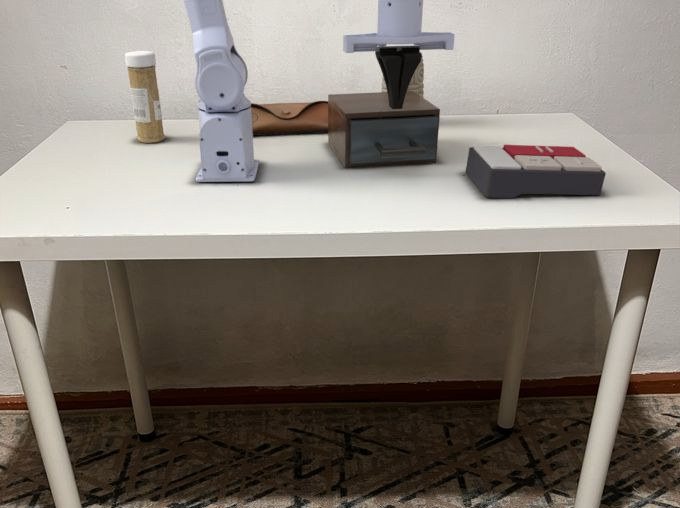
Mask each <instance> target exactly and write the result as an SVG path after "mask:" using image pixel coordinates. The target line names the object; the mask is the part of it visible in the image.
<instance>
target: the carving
mask: <svg viewBox="0 0 680 508" xmlns="http://www.w3.org/2000/svg"><path fill="white" fill-rule="evenodd" d="M420 53H422V52H421V51H420ZM423 58H424V57H423V55H422V58H421V62H420V64H419V65H418V67H417V69H416V71H415V72H414V74H413V77H412V79H411V81H410V84H409V86H408V89H407V91H414V92H415V93H417V94H418V95H420V96H421V97H423V98H424V97H425V96H424V94H425V92H424V91H425V90H424V87H425V84H424V79H425V78H424V77H425V64H424V59H423ZM381 92H387V88H386V84H385V80H384V77H383V76H382V79H381ZM424 99H425V98H424Z"/></svg>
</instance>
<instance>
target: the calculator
mask: <svg viewBox="0 0 680 508" xmlns="http://www.w3.org/2000/svg"><path fill="white" fill-rule="evenodd" d="M502 146H503V147H501V146H499V145H476V144H475V145H473V146H470V147H469V148H468V153H467V161H466V166H465V167H466V168H465V174H466V175H467V177H468V178H470V180H471V181H472V183H473V184H474V185H475V186H476V187H477V188H478V190H479V191H480V192H481V193H482V194H483V196H484V197H486V198H493V199H494V198H499V199H501V198H502V199H515V198H517V197H519V196H520V195H523V194H524V195H527V194H528V195H529V194H530V195H564V196H565V195H568V196H570V195H571V196H572V195H573V196H600V195H601V194H602V191H603V190H602V189H603V186H604V183H605V178H606V174H607V173H606V171H604V169H602V168H603V167H602V165H600V164H599V163H597V162H596V161H594V160H593V159H591V158H590V157H587V155H586V154H584V153H583V152H582V151H580V150H579V149H577V147H574V146H559V145H558V146H557V145H526V144H525V145H523V144H503V145H502Z"/></svg>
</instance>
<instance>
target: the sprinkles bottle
mask: <svg viewBox="0 0 680 508" xmlns="http://www.w3.org/2000/svg"><path fill="white" fill-rule="evenodd" d="M124 59H125V60H124V61H125V66H126V70H127V72H128V79H129V90H130V96H131V98H130V99H131V105H132V110H133V117H134V121H135V127H136V133H137V136H136V140H137V141H138V142H139V143H143V144H153V143H160V142H162V141H164V140H165V138H166V136H165V132H164V125H163V114H162V108H161V100H160V92H159V91H160V90H159V87H158V80H157V79H158V78H157V72H156V67H157V66H156V65H157V62H156V61H157V60H156V54H155V52H154V51H151V50H133V51H129V52H126V53H125V54H124Z"/></svg>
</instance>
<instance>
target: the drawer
mask: <svg viewBox="0 0 680 508" xmlns="http://www.w3.org/2000/svg"><path fill="white" fill-rule="evenodd" d="M437 126H438V117H436V116H428V115H425V116H404V117H384V118H383V119H377V118H363V119H351V120H350V151H349V162H350V163H351V164H358V163H375V162H392V161H409V160H426V159H435V154H436V140H437Z"/></svg>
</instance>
